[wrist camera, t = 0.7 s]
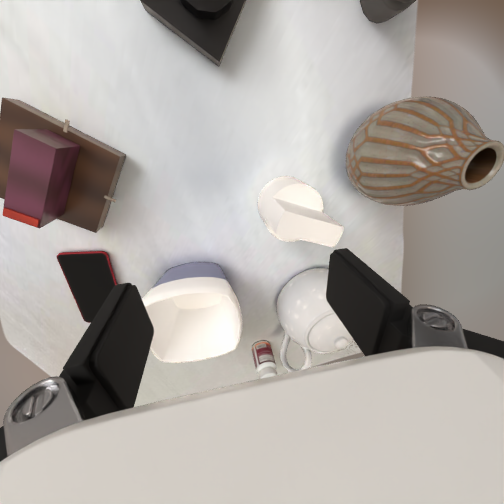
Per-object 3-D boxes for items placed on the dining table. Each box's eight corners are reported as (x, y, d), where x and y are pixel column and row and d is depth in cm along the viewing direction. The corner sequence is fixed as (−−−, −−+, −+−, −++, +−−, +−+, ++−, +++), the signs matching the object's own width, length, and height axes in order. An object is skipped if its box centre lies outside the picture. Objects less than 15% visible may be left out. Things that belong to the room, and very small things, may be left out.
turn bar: (46, 129, 26) (12, 128, 21) (80, 145, 27) (54, 148, 23) (32, 203, 29) (0, 216, 25) (63, 214, 30) (38, 229, 26)
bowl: (232, 247, 40) (239, 283, 31) (238, 309, 48) (245, 354, 38) (145, 257, 38) (123, 299, 29) (165, 320, 46) (154, 370, 36)
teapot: (267, 269, 44) (289, 320, 32) (353, 255, 46) (402, 298, 34) (271, 333, 53) (289, 390, 42) (342, 318, 55) (378, 369, 43)
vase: (394, 81, 32) (561, 38, 17) (414, 159, 38) (549, 179, 23) (317, 141, 34) (404, 151, 19) (348, 206, 40) (432, 251, 25)
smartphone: (105, 251, 36) (126, 319, 43) (108, 249, 36) (128, 316, 44) (54, 253, 34) (84, 323, 41) (57, 251, 35) (87, 319, 42)
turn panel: (8, 84, 25) (-12, 79, 23) (137, 151, 31) (131, 153, 28) (-5, 193, 30) (-22, 198, 28) (108, 235, 35) (101, 242, 33)
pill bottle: (263, 354, 57) (271, 387, 50) (248, 350, 55) (253, 383, 48) (273, 342, 55) (283, 374, 48) (258, 337, 53) (266, 370, 46)
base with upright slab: (250, 220, 38) (266, 254, 28) (267, 168, 35) (293, 184, 24) (295, 232, 41) (325, 266, 31) (316, 184, 37) (357, 205, 27)
